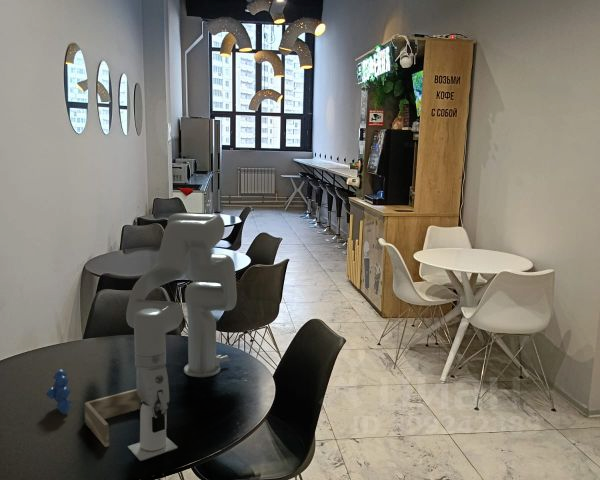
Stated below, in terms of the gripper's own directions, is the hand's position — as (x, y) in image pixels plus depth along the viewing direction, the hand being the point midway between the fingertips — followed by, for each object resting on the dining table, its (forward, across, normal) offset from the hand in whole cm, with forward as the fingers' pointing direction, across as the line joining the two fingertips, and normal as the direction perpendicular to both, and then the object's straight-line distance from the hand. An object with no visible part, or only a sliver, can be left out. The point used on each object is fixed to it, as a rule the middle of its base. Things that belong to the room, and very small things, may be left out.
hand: (152, 424), depth 140 cm
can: (+6, 0, 0) cm, 6 cm away
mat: (+6, 0, 0) cm, 6 cm away
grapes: (+7, +35, +13) cm, 38 cm away
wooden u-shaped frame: (+6, +15, +1) cm, 16 cm away
